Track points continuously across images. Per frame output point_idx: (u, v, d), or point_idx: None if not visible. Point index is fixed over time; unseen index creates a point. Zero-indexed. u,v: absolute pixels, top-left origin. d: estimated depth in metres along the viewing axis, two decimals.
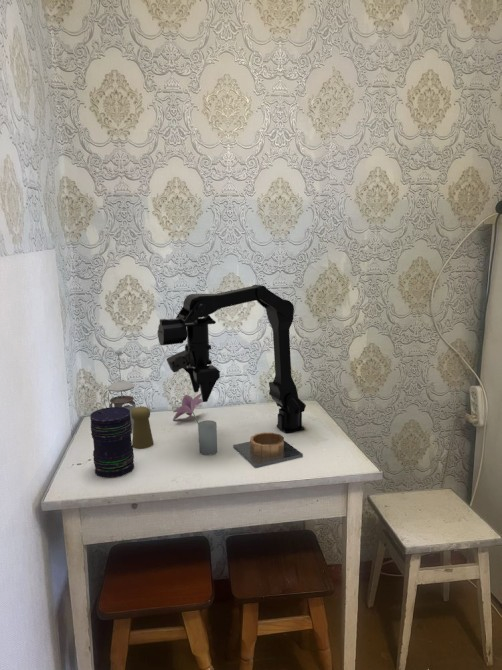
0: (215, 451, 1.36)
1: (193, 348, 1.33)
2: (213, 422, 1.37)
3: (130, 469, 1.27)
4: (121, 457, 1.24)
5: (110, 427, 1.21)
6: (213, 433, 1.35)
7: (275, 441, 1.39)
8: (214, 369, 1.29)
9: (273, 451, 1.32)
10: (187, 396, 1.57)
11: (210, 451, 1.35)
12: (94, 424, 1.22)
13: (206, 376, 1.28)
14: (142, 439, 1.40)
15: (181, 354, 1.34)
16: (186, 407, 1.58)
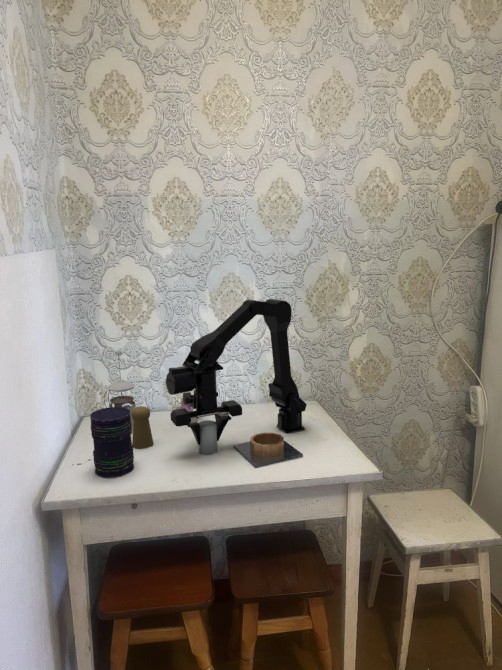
0: (215, 451, 1.36)
1: (195, 391, 1.35)
2: (213, 422, 1.37)
3: (130, 469, 1.27)
4: (121, 457, 1.24)
5: (110, 427, 1.21)
6: (213, 433, 1.35)
7: (275, 441, 1.39)
8: (175, 415, 1.30)
9: (273, 451, 1.32)
10: None
11: (210, 451, 1.35)
12: (94, 424, 1.22)
13: (172, 418, 1.32)
14: (142, 439, 1.40)
15: None
16: (185, 407, 1.58)
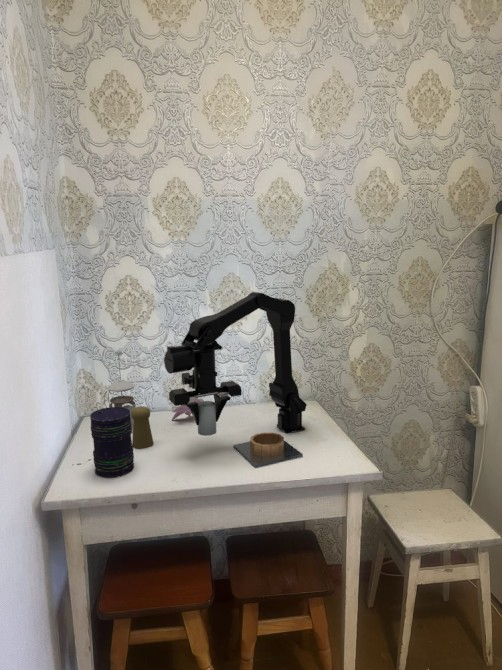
0: (214, 432, 1.35)
1: (193, 371, 1.34)
2: (212, 402, 1.36)
3: (130, 469, 1.27)
4: (121, 457, 1.24)
5: (110, 427, 1.21)
6: (212, 413, 1.34)
7: (275, 441, 1.39)
8: (174, 395, 1.29)
9: (273, 451, 1.32)
10: None
11: (209, 431, 1.34)
12: (94, 424, 1.22)
13: (171, 398, 1.31)
14: (142, 439, 1.40)
15: None
16: (185, 407, 1.58)
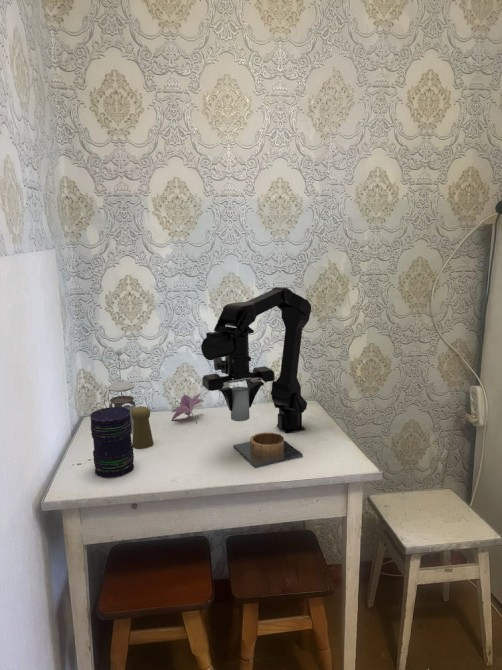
0: (247, 417, 1.34)
1: (226, 356, 1.33)
2: (245, 388, 1.35)
3: (130, 469, 1.27)
4: (121, 457, 1.24)
5: (110, 427, 1.21)
6: (245, 399, 1.32)
7: (275, 441, 1.39)
8: (208, 380, 1.28)
9: (273, 451, 1.32)
10: (186, 396, 1.57)
11: (242, 417, 1.33)
12: (94, 424, 1.22)
13: (204, 383, 1.30)
14: (142, 439, 1.40)
15: None
16: (185, 407, 1.58)
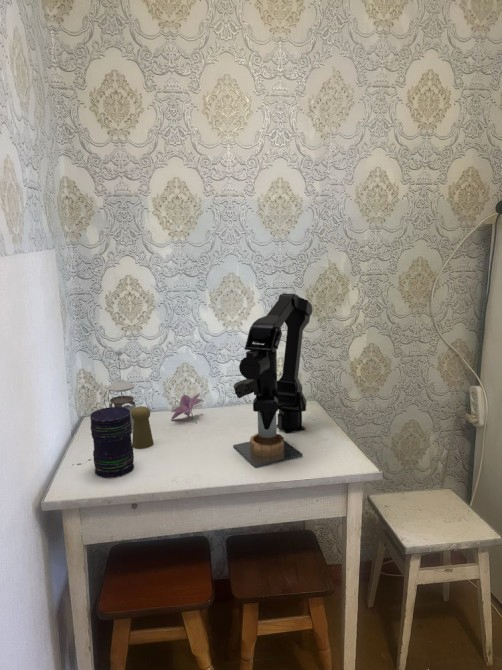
0: None
1: (258, 376, 1.30)
2: None
3: (130, 469, 1.27)
4: (121, 457, 1.24)
5: (110, 427, 1.21)
6: None
7: (275, 441, 1.39)
8: (272, 401, 1.24)
9: (273, 451, 1.32)
10: (185, 396, 1.57)
11: (276, 431, 1.35)
12: (94, 424, 1.22)
13: (262, 407, 1.24)
14: (142, 439, 1.40)
15: (248, 380, 1.33)
16: (184, 407, 1.58)
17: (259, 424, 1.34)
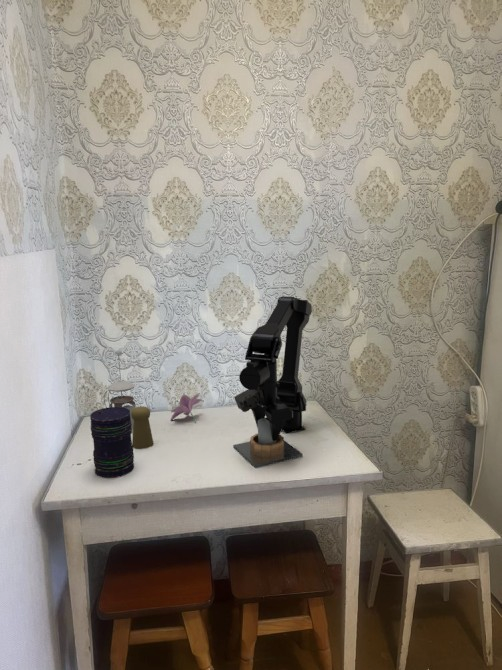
0: None
1: (263, 387, 1.30)
2: (263, 419, 1.36)
3: (130, 469, 1.27)
4: (121, 457, 1.24)
5: (110, 427, 1.21)
6: None
7: None
8: (288, 409, 1.26)
9: (273, 451, 1.32)
10: (185, 396, 1.57)
11: None
12: (94, 424, 1.22)
13: (281, 416, 1.25)
14: (142, 439, 1.40)
15: (250, 393, 1.31)
16: (184, 407, 1.58)
17: (263, 440, 1.34)
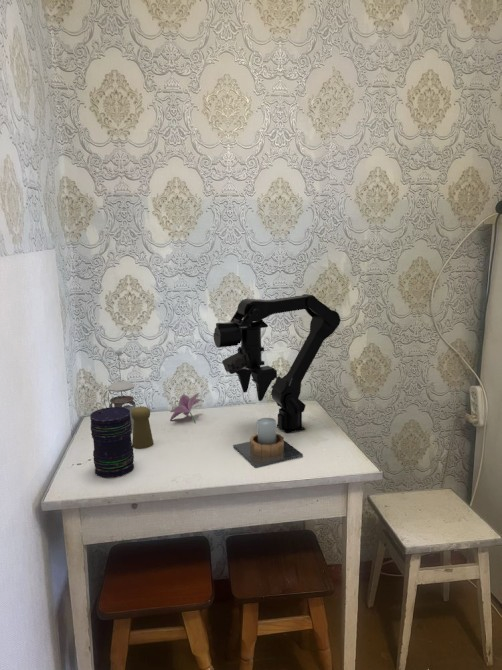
0: None
1: (249, 350, 1.40)
2: (263, 419, 1.36)
3: (130, 469, 1.27)
4: (121, 457, 1.24)
5: (110, 427, 1.21)
6: None
7: None
8: (272, 369, 1.37)
9: (273, 451, 1.32)
10: (184, 396, 1.57)
11: None
12: (94, 424, 1.22)
13: (266, 376, 1.36)
14: (142, 439, 1.40)
15: (236, 356, 1.41)
16: (183, 407, 1.58)
17: (262, 440, 1.34)
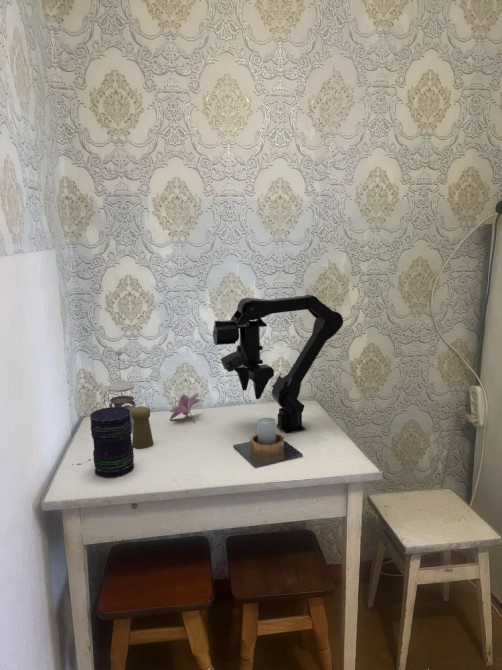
0: None
1: (247, 349, 1.42)
2: (263, 418, 1.37)
3: (130, 469, 1.27)
4: (121, 457, 1.24)
5: (110, 427, 1.21)
6: None
7: None
8: (269, 368, 1.38)
9: (273, 451, 1.32)
10: (184, 396, 1.57)
11: None
12: (94, 424, 1.22)
13: (262, 375, 1.37)
14: (142, 439, 1.40)
15: (235, 354, 1.43)
16: (183, 407, 1.59)
17: (262, 440, 1.34)
